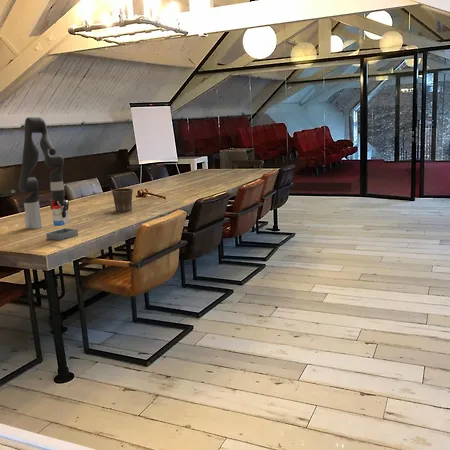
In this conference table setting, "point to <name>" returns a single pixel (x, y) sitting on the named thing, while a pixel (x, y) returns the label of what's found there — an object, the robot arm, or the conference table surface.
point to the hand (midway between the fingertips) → (60, 217)
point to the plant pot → (123, 199)
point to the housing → (62, 234)
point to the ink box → (59, 215)
